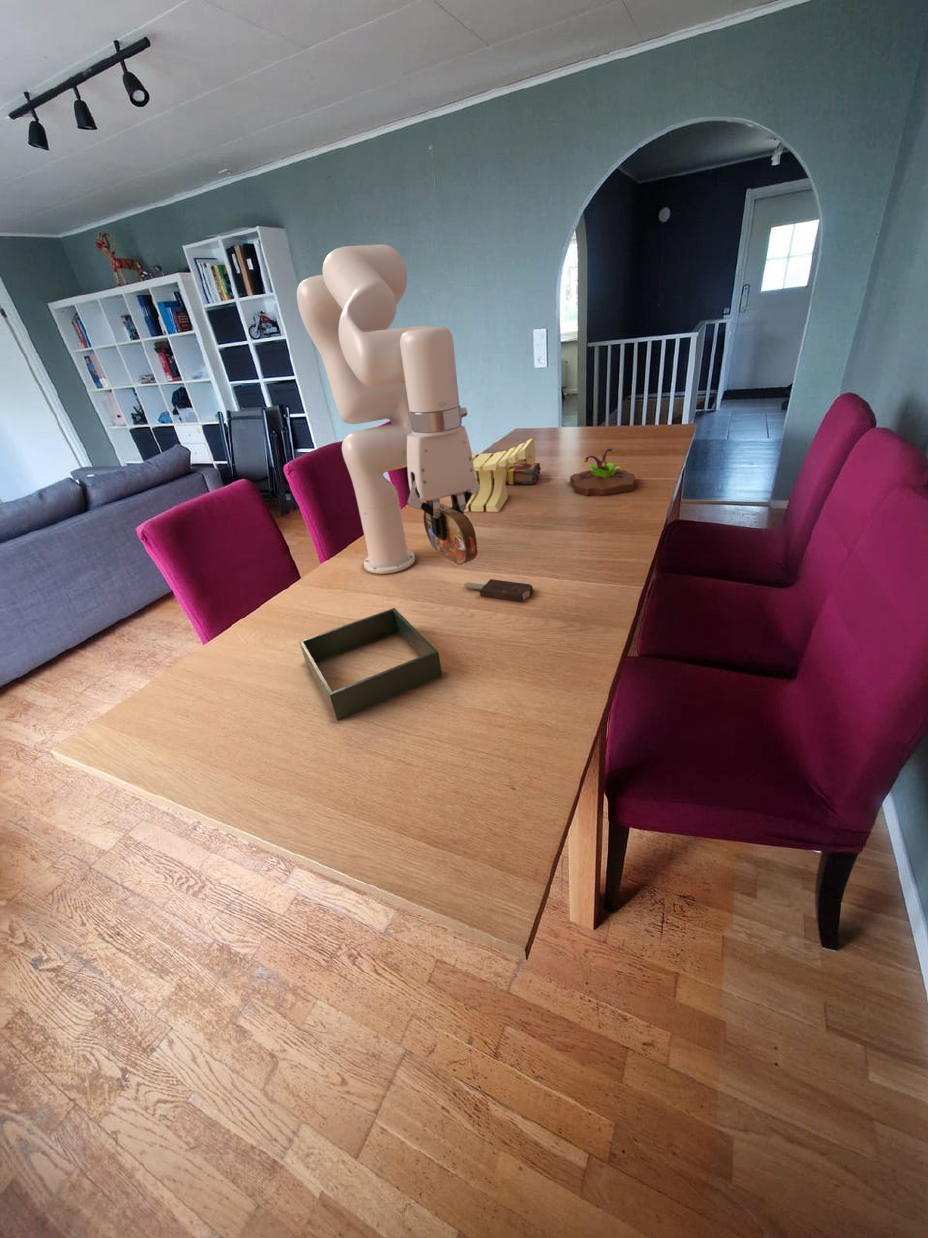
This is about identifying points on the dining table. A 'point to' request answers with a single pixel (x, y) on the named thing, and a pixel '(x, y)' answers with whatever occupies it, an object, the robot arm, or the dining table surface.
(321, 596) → the dining table surface
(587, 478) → the plant
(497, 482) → the slatted curved stool
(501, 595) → the ice cream bar
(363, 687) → the box
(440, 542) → the tin
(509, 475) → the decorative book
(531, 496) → the dining table surface
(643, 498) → the dining table surface
